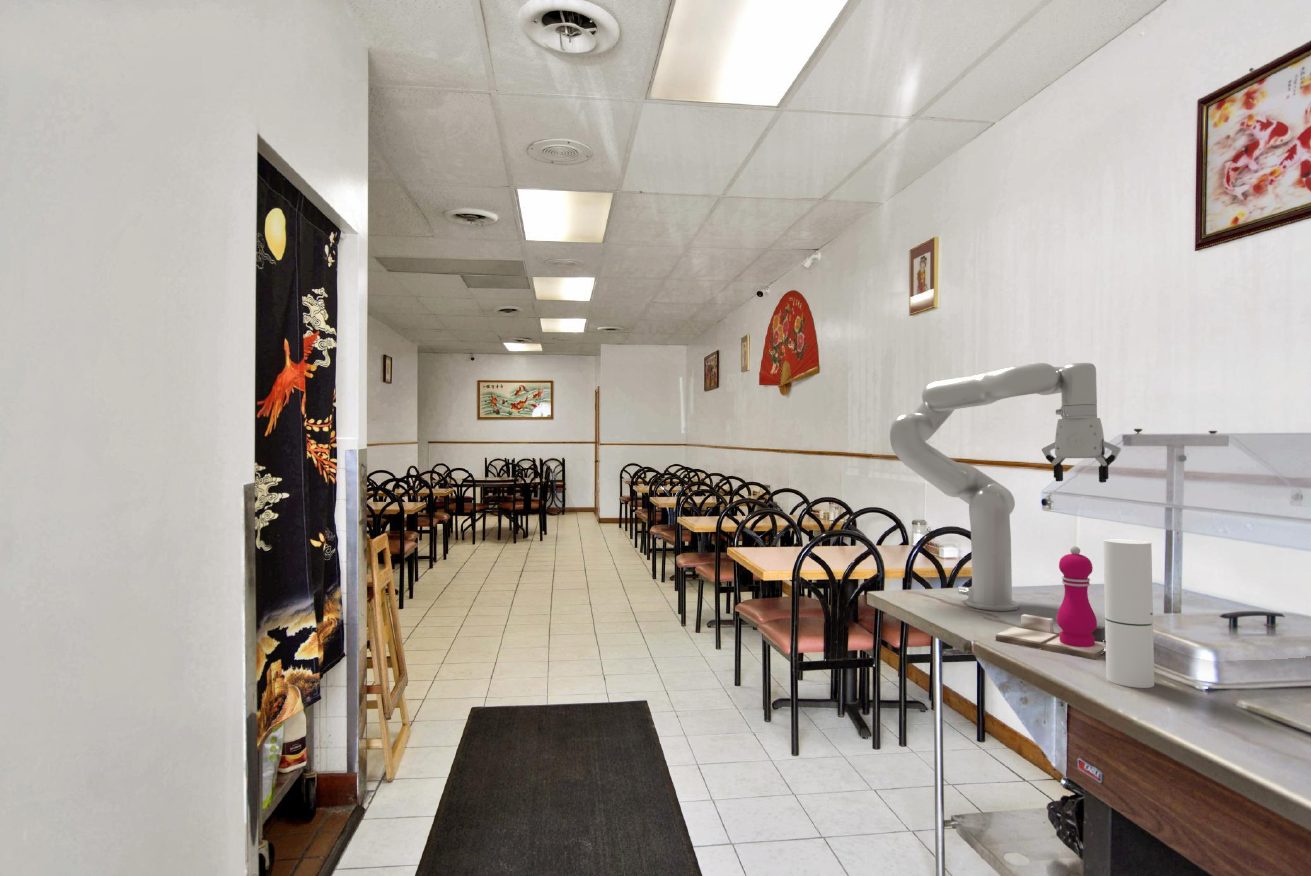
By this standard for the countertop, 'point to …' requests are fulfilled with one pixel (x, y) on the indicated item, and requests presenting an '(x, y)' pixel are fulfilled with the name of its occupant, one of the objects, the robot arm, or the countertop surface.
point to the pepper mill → (1076, 601)
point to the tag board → (1049, 637)
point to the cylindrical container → (1129, 612)
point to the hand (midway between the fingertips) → (1080, 481)
